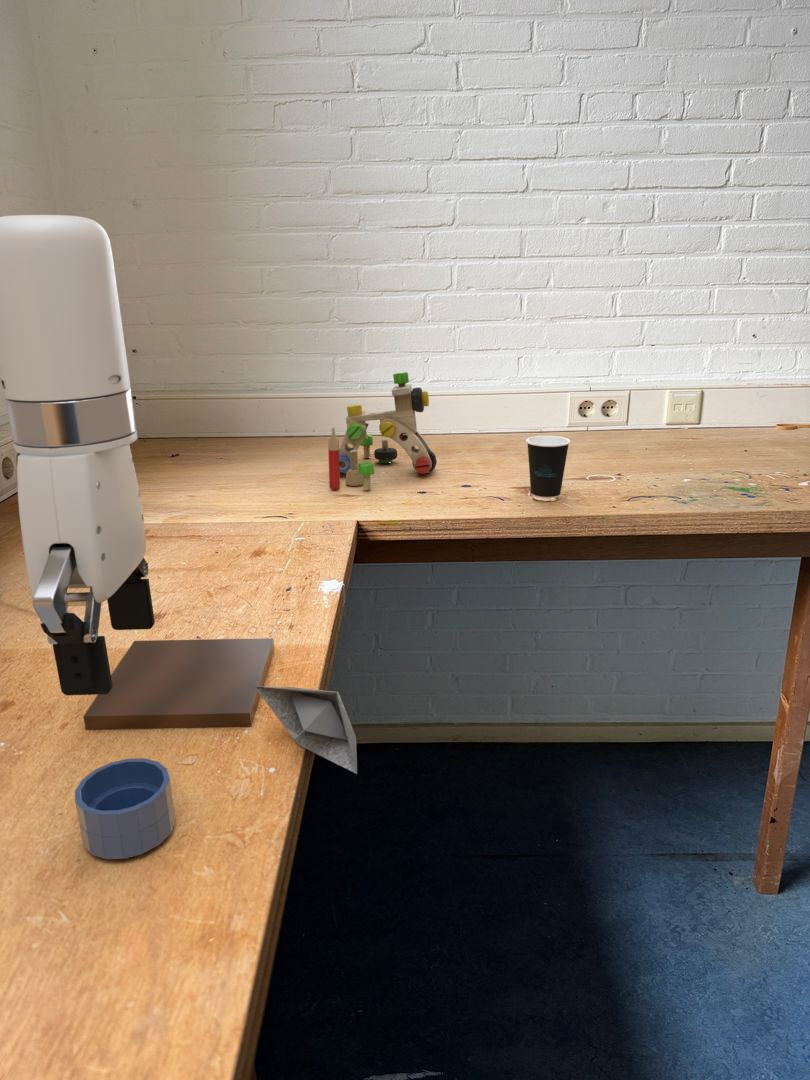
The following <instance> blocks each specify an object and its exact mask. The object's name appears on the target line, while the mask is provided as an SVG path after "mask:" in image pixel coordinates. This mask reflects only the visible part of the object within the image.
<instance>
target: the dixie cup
mask: <svg viewBox="0 0 810 1080" xmlns="http://www.w3.org/2000/svg"><path fill="white" fill-rule="evenodd" d="M525 442H526V443H527V457H528V472H529V485H530V494H531V496H534V497H536V498H542V499H550V498H556V497H558V496H559V497H560V495H561V492H562V486H563V480H564V473H565V470H566V462H567V456H568V451H569V445H570V444H571V440H570V439H569V438H567V437H563V436H558V435H535V436H530V437H528V438H526V441H525Z"/></svg>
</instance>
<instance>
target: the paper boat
mask: <svg viewBox="0 0 810 1080" xmlns="http://www.w3.org/2000/svg"><path fill="white" fill-rule="evenodd" d="M254 687H255V688H256V689H257V691H258V692H259V693H260V697H261V698H262V699H263V700H264V701H265V703H266V704H267V705H268V707H269V708H270V710H271V711H272V712H273V714H274V715H275V717H276V718H277V719H278V720H279V722H280V723H281V724H282V726H283V727H284V729H285V730H286V732H287V733H288V734H289V735H290V737H291V738H292V740H294V742H295V743H296V745H298V746H299V747H301V748H304V749H305V750H308V751H310V752H311V753H314V754H316V755H317V756H320V757H322V758H324V759H326V760H328V761H329V762H332V763H333V764H336V765H338V766H340V767H342V768H344V769H346V770H348V771H350V772H352V773H354V774H356V775H358V756H357V754H358V753H357V737H356V734H355V731H354V729H353V726H352V723H351V721H350V718H349V716H348V713H347V711H346V707H345V706H344V702H343V700H342V698H341V695H340V693H339V691H334V690H333V691H331V690H322V689H314V688H313V689H312V688H305V687H304V688H303V687H294V686H263V687H261V686H254Z"/></svg>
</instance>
